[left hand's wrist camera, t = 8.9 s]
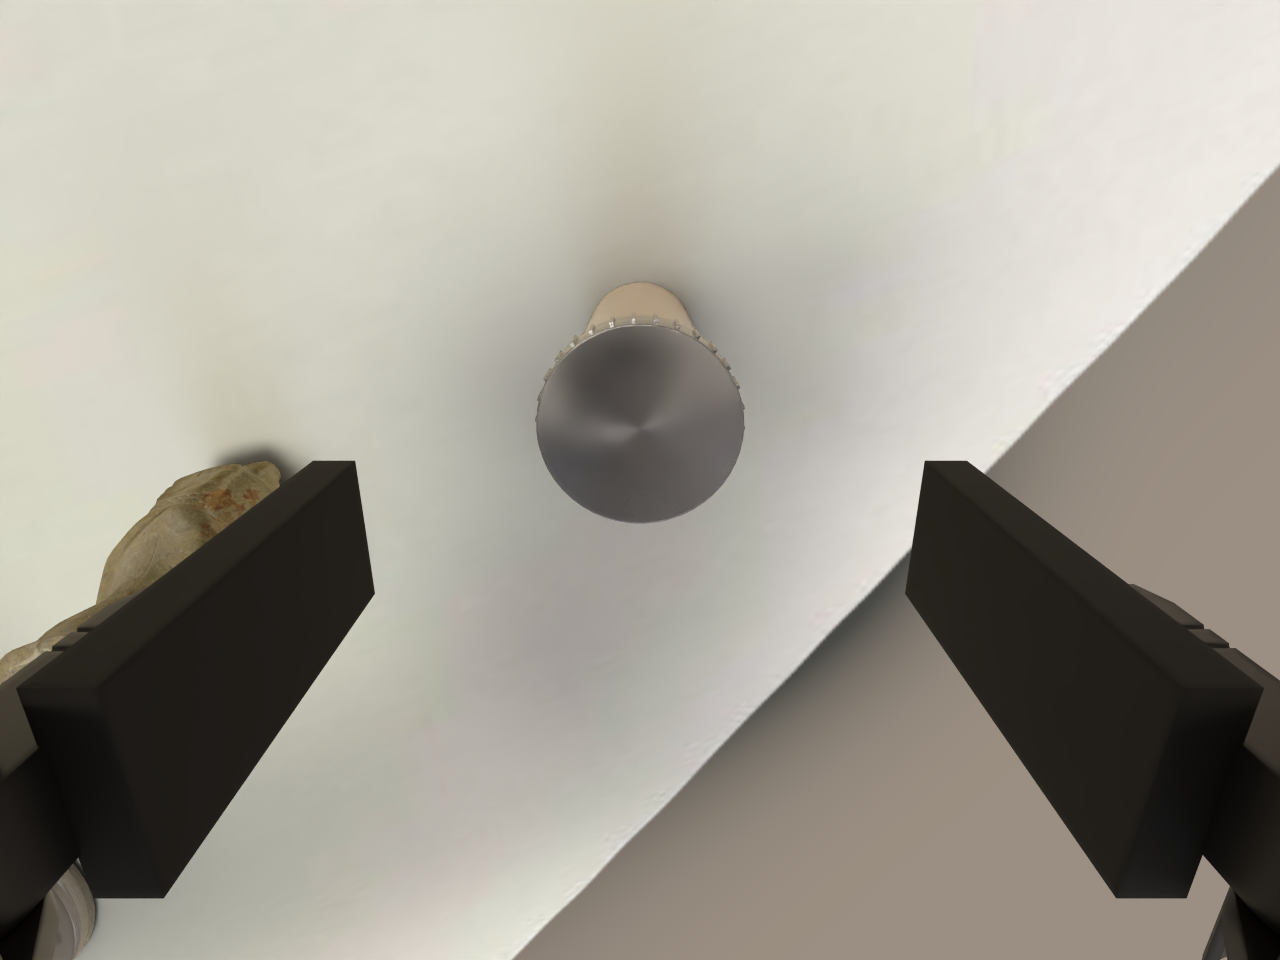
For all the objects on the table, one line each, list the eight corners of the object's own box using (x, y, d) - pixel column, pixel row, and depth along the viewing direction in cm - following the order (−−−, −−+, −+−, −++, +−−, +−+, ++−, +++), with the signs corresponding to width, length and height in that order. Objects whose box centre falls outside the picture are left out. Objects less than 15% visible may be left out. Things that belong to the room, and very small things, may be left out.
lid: (771, 354, 20) (782, 366, 19) (694, 529, 22) (698, 552, 21) (578, 280, 20) (573, 286, 18) (516, 467, 22) (507, 487, 20)
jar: (706, 304, 34) (756, 373, 19) (668, 398, 35) (689, 527, 21) (609, 266, 33) (585, 308, 19) (575, 364, 35) (530, 472, 20)
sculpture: (248, 584, 39) (25, 797, 25) (187, 463, 36) (-100, 622, 22) (349, 561, 38) (180, 765, 24) (294, 436, 36) (69, 582, 22)
